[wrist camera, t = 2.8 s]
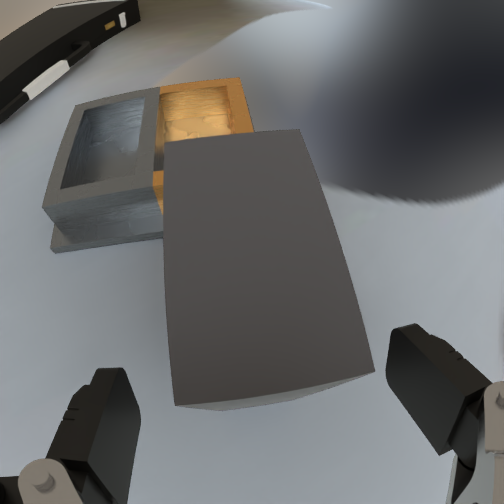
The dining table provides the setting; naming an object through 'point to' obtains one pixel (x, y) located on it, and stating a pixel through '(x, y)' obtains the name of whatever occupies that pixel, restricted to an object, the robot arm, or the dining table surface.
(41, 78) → the briefcase
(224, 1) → the dining table surface
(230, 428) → the dining table surface
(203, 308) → the grey rectangular block
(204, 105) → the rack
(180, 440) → the dining table surface
